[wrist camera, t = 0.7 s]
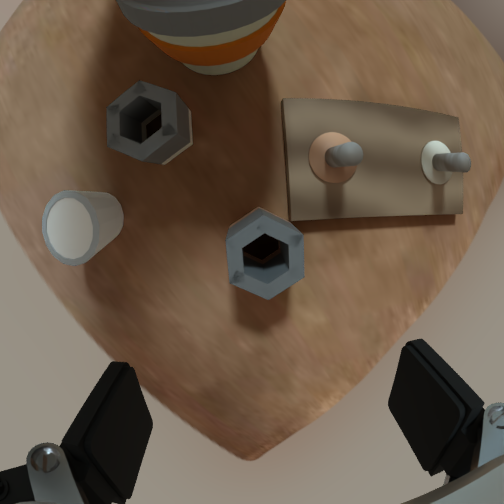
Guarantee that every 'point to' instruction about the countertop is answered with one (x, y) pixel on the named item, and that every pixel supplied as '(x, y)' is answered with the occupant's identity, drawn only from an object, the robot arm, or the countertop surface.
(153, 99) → the cream-banded sleeve
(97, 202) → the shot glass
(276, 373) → the countertop surface
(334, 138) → the pin board
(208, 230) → the countertop surface
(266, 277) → the terracotta-banded sleeve
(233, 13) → the reusable coffee cup
